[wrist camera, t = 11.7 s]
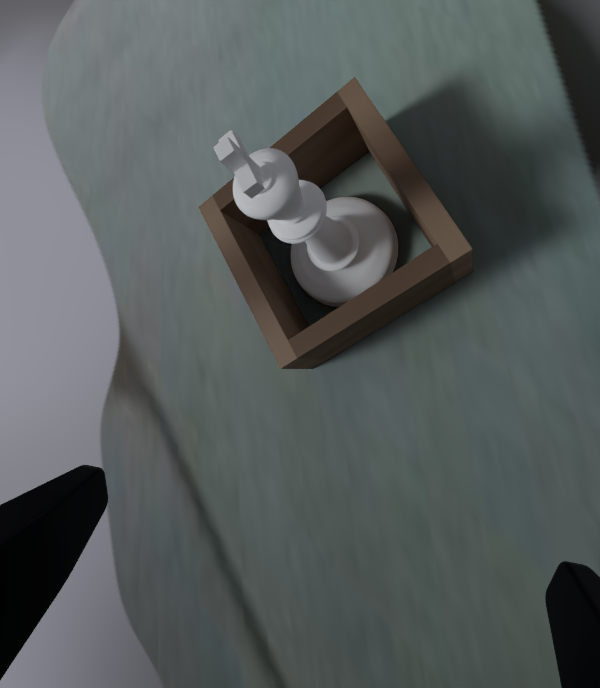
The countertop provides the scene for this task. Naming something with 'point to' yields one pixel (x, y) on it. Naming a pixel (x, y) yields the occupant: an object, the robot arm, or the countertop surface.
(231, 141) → the chess piece
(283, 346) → the walnut collar
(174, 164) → the countertop surface
